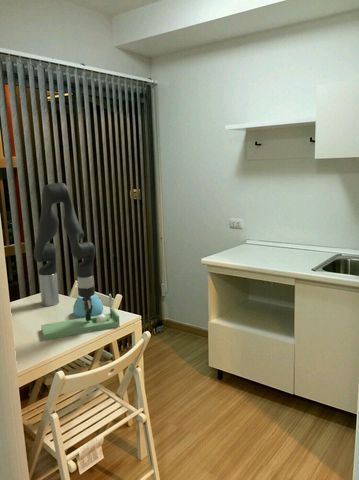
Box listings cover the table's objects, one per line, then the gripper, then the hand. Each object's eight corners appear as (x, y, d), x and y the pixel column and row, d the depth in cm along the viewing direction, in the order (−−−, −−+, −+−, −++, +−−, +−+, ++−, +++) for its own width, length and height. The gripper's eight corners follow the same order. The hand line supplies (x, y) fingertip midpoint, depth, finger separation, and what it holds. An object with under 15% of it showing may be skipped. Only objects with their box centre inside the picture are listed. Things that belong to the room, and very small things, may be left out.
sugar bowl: (68, 313, 210) (66, 292, 207) (94, 306, 220) (92, 285, 217) (82, 321, 199) (81, 299, 196) (109, 313, 209) (107, 292, 206)
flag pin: (110, 317, 196) (108, 293, 194) (111, 317, 197) (110, 293, 194) (112, 320, 193) (110, 296, 191) (113, 319, 194) (112, 295, 191)
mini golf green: (41, 330, 190) (40, 319, 189) (113, 317, 203) (112, 308, 202) (44, 340, 179) (43, 329, 178) (119, 326, 192) (119, 316, 191)
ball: (96, 324, 196) (94, 315, 195) (106, 320, 198) (103, 311, 197) (99, 328, 192) (96, 318, 190) (109, 324, 194) (107, 314, 192)
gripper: (75, 282, 193) (77, 316, 196) (80, 290, 181) (82, 326, 184) (91, 280, 196) (93, 314, 199) (97, 287, 184) (99, 324, 187)
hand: (88, 320), depth 192 cm, fingers closed
